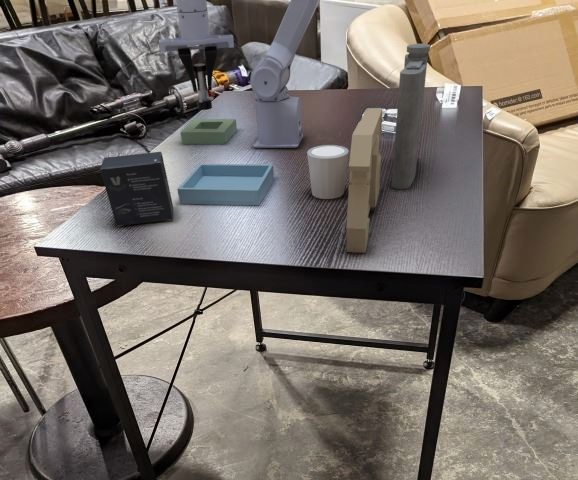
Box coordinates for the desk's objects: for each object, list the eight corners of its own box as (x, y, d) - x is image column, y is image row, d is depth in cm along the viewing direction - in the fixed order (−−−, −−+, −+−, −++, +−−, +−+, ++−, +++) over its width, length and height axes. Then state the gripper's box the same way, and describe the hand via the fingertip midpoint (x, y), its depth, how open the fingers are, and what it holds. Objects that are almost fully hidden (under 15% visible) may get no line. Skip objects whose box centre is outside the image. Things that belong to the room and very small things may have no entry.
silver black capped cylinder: (217, 105, 113) (212, 62, 108) (211, 110, 110) (206, 67, 104) (198, 105, 114) (192, 62, 108) (192, 110, 110) (186, 67, 105)
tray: (274, 178, 98) (273, 164, 96) (259, 205, 89) (257, 190, 87) (201, 177, 100) (199, 163, 98) (179, 203, 91) (177, 188, 89)
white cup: (308, 186, 94) (307, 145, 89) (346, 184, 94) (347, 143, 89) (308, 201, 89) (306, 158, 84) (348, 199, 88) (349, 156, 84)
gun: (366, 257, 73) (373, 140, 64) (343, 256, 73) (346, 140, 65) (379, 202, 92) (385, 106, 83) (360, 201, 93) (364, 106, 84)
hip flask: (397, 157, 102) (407, 36, 89) (418, 158, 102) (431, 35, 88) (390, 189, 91) (401, 54, 78) (414, 189, 90) (429, 54, 77)
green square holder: (237, 130, 122) (235, 118, 120) (225, 144, 115) (223, 132, 113) (196, 130, 124) (194, 118, 122) (182, 144, 116) (180, 132, 115)
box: (174, 207, 90) (162, 150, 84) (173, 221, 86) (161, 161, 80) (119, 214, 89) (103, 156, 83) (116, 227, 85) (98, 168, 79)
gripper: (228, 5, 104) (235, 83, 113) (155, 10, 103) (168, 88, 112) (231, 10, 99) (238, 90, 108) (153, 15, 97) (167, 96, 106)
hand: (202, 90), depth 109 cm, fingers closed on silver black capped cylinder, 2 cm apart
